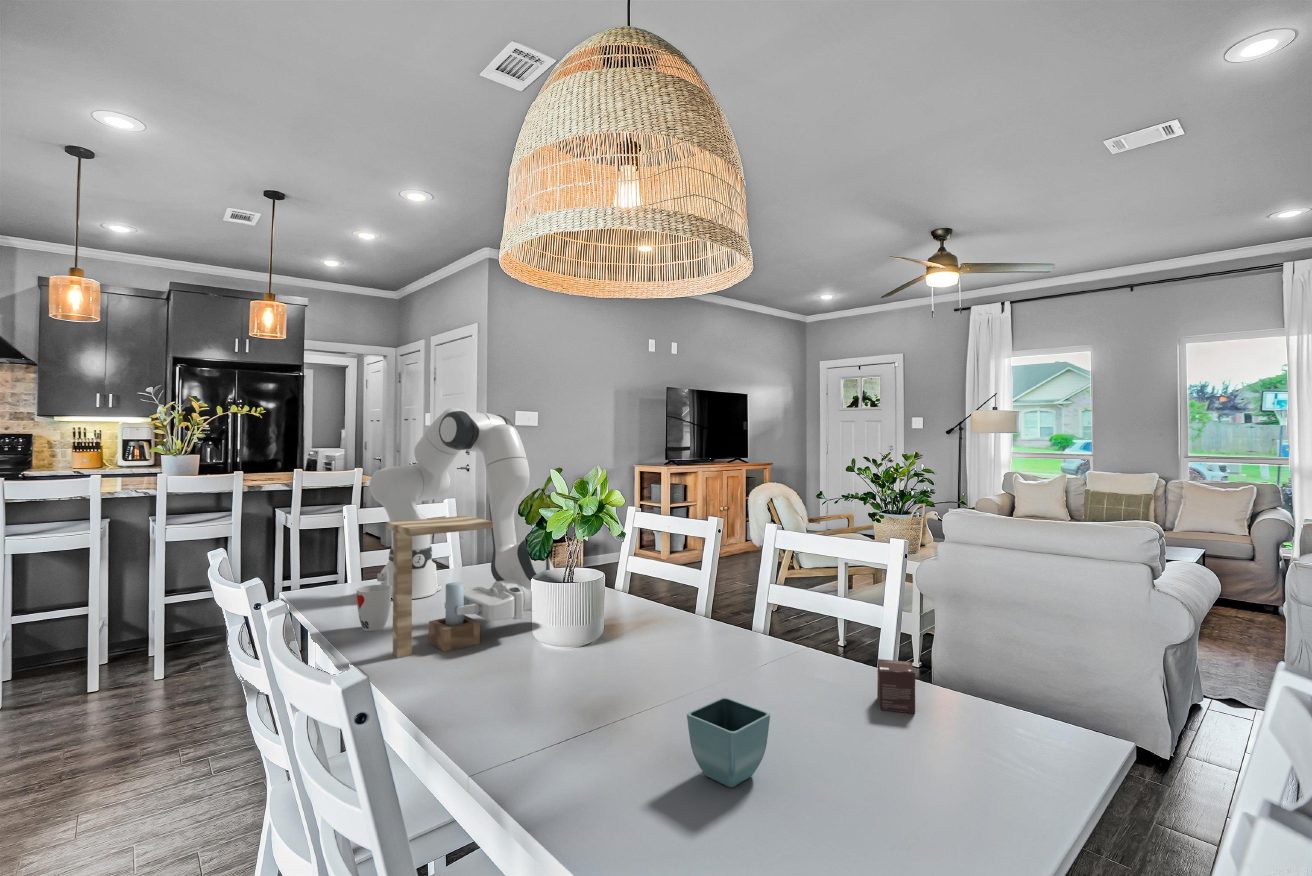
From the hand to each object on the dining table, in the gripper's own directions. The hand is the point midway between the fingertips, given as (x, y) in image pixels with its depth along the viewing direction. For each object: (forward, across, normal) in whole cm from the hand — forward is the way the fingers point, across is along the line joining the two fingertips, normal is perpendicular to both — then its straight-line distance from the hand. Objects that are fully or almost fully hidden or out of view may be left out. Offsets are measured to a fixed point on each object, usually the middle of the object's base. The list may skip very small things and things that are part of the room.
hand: (450, 608), depth 148 cm
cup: (+9, -24, +8) cm, 27 cm away
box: (-46, +85, +9) cm, 97 cm away
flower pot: (-5, +81, +9) cm, 81 cm away
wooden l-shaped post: (+3, 0, +8) cm, 9 cm away
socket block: (-1, 0, +8) cm, 8 cm away
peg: (-1, 0, +6) cm, 7 cm away
